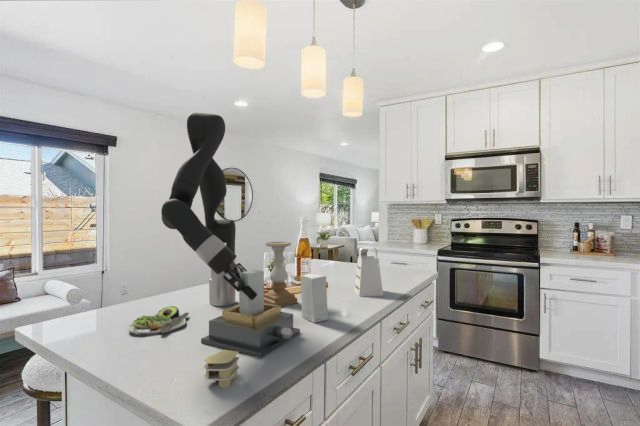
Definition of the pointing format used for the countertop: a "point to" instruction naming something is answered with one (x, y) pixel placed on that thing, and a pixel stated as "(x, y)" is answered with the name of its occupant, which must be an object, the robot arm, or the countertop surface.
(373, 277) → the grater
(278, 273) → the candle holder
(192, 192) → the robot arm
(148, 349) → the countertop surface
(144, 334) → the salad plate
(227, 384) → the tan layered stack
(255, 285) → the skincare box
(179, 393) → the countertop surface
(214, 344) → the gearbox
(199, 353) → the countertop surface
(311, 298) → the skincare box
